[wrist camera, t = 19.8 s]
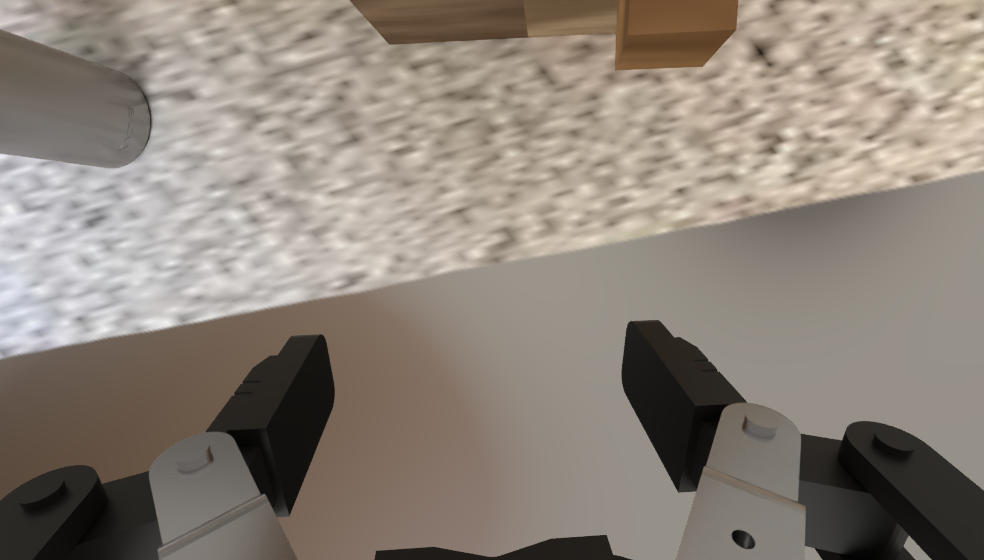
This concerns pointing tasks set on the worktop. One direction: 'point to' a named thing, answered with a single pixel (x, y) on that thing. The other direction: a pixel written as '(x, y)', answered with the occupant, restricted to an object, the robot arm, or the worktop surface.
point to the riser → (486, 19)
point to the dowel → (671, 32)
